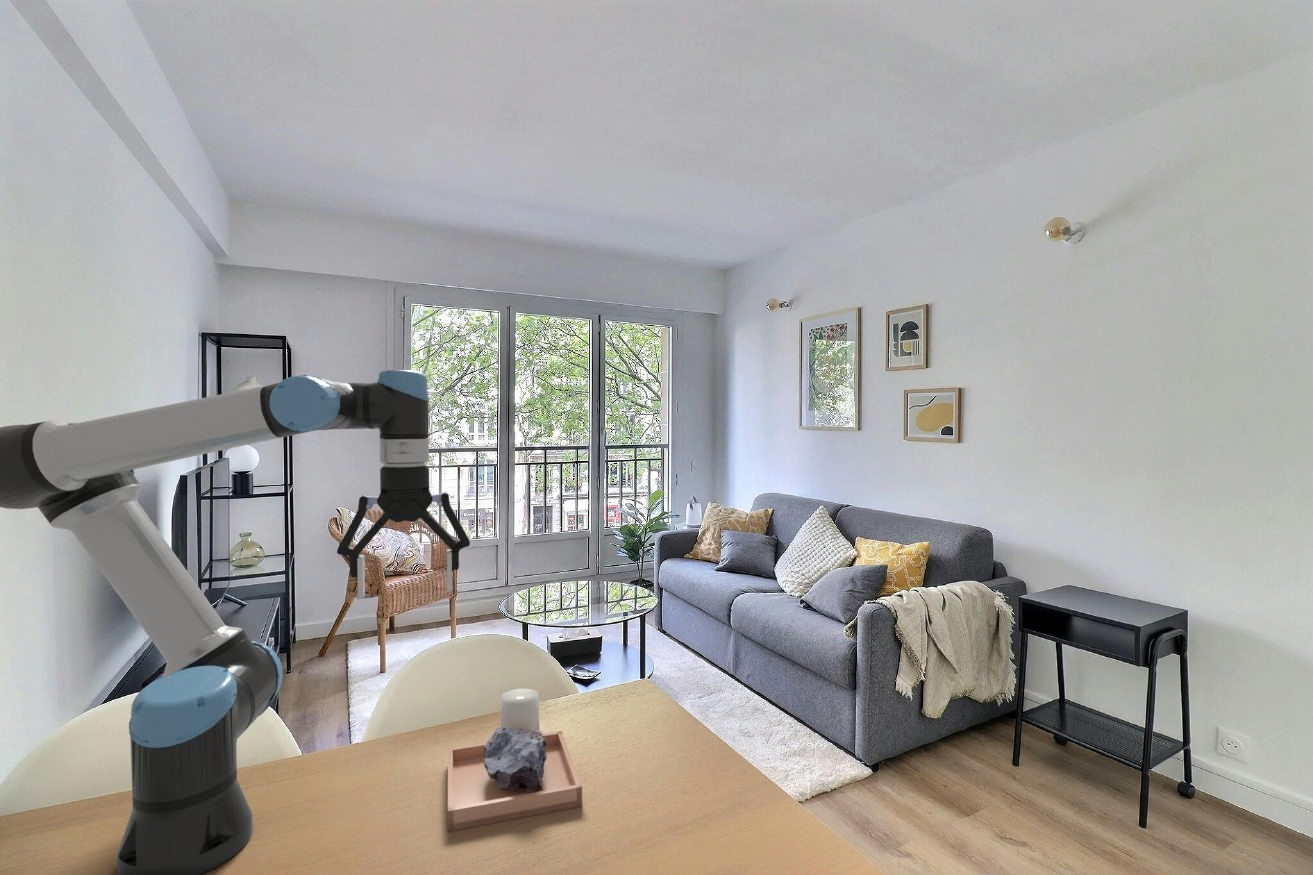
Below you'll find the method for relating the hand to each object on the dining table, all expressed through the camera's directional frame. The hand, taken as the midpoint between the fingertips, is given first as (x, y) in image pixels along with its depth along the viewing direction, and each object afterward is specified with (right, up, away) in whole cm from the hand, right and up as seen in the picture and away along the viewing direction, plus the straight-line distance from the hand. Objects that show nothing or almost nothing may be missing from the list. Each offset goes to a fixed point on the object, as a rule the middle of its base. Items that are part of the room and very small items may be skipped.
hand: (406, 593), depth 106 cm
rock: (+18, -30, -2) cm, 35 cm away
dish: (+18, -31, -2) cm, 36 cm away
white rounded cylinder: (+16, -30, +13) cm, 37 cm away
